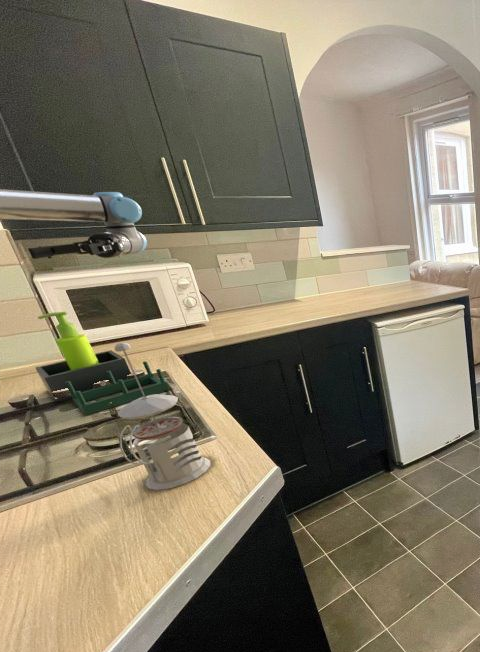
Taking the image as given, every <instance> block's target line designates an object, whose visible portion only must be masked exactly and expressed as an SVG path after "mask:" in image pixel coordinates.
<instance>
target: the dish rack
mask: <svg viewBox="0 0 480 652" xmlns="http://www.w3.org/2000/svg"><path fill="white" fill-rule="evenodd" d="M142 364H143V366H144V369H145V371H146V373H147V374H142V375H138V376H139V377H138V376H136V377H137V379H138V381H139V383H140V386H141V388H142V390H143V392H144V394H145V396H149V395H155V394H161V393H165V392H167V391H170V390H171V389H170V386H169V383H168V381H166V379H165V377H164V374H163V372H162V370H161V368H157V369H155V371H156V373H157V376H158V377H157V376H155V373H153V372H152V370H151V367H150V365H149V363H148V361H142ZM106 373H107V375H108V377H109V379H110V382H111V384H109V385H105V386H102V387H98V388H94V389H91V390H87V391H83V392H80V391H76V392H75V390H74V388H73V386H72V384H71V382H70V381H67V382H65V383H66V385H67V387H68V389H69V391H70V393H71V397H72V399H71V400H72V401H73V402H74V404H75V405H76V406H77V407H78V409H80V411H82V413H83V414H84V415H85V416H89V415H93V414H96V413H99V412H102V411H106V410H108V409H109V410H110V409H112V408H116V407H118V406H122V405H125V404H129V403H130V402H132V401H134V400H136V399H139V398H141V397H144V396H143V394H142V392H141V389H140V387H139V385H138V383H137V381H136V378H135V377H133V378H131V379H127V380H124V381H123V380H122V379H120V380H118V382H115V380H114V378H113V375H112V373H111V371H106ZM148 384H150V385H148ZM144 385H147V386H144ZM142 386H143V387H142ZM138 387H139V388H138ZM134 388H136V389H134ZM131 389H133V390H131ZM120 392H122V393H120ZM117 393H119V394H117ZM113 394H116V395H113ZM111 395H112V396H111ZM107 396H108V397H107ZM103 397H105V398H103ZM100 398H102V399H100ZM96 399H97V400H96ZM93 400H95V401H93ZM90 401H92V402H90ZM87 402H89V403H87ZM109 402H112V404H109ZM108 404H109V405H108Z"/></svg>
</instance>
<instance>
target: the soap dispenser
mask: <svg viewBox="0 0 480 652" xmlns="http://www.w3.org/2000/svg"><path fill="white" fill-rule="evenodd" d="M66 315H68V312H67V311H56V312H55V311H54V312H48V313H45V314H42V315H39V316H38V317H37V320H42V319H43V320H44V319H45V318H50V317H55V319H56V321H57V323H58V324H57V325H55V329H56V331H57V332H58V334H59V336H60V337H59V338H57V339H56V340H55V342H56V344H57V347H58V348H59V350H60V352H61V354H62V356H63V359H64V361H66V362H67V364H68V366H69V368H70V369H71V370H75V369H79V368H83V367H88V366H92V365H96V364H99V362H98V360H97V358H96V356H95V354H96V353H95V351H94V349H93V347H92V345H91V343H90V341H89V338H88V337H87V335H86V334H84V333H83V334H81V333H80V334H79V332H78V330H77V328H76V326H75V324H74V323H72V322H69V321H68V319H67V318H66Z"/></svg>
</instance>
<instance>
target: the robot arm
mask: <svg viewBox="0 0 480 652" xmlns="http://www.w3.org/2000/svg"><path fill="white" fill-rule="evenodd" d="M142 214H143V211H142V208H141V206H140V205H139V203H137V202H136V201H135V200H134V199H132V198H130V197H127V196H124V195H123V194H122V193H121V192H119V191H99V192H98V191H97V192H94V193H93V194H78V193H76V194H75V193H64V192H63V193H62V192H49V191H47V192H46V191H32V190H19V189H18V190H16V189H3V188H0V220H24V221H26V220H27V221H28V220H29V221H57V222H58V221H60V222H95V223H103V224H104V225H105V229H106V231H104V232H96V233H91V234H90V235H89V236H88V238H87V240H86V239H85V240H83V241H75V242H72V243H66V244H65V243H64V244H56V245H55V244H54V245H45V246H41V245H40V246H39V245H38V246H37V247H29V248H27V250H28V252H29V254H30V256H31V258H32V260H35V259H41V258H47V259H53V257H54V256H58V255H69V254H78V255H86V254H88V255H90V256H95V255H96V256H97V257H99V258H102V259H110V258H115V257H117V258H119V259H120V258H123V257H122V256H126V255H132V254H137V253H140V252H143V251H144V250H145V249H147V246H148V241H147V238H146V237H145V235H144V234H143V233H141V232H140V231H138V230H137V227H136V226H135V223H136V222H138V221H140V219H141V218H142Z"/></svg>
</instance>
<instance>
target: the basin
mask: <svg viewBox="0 0 480 652" xmlns="http://www.w3.org/2000/svg"><path fill="white" fill-rule="evenodd" d="M95 356H96V358H97V360H98V362H99V364H96V365H92V366H88V367H83V368H79V369H75V370H71V369H70V368H69V366H68V364H67V362H66V360H61V361H58V362H53V363H49V364H44V365H39V366H35V367H34V368H35V371H36V372H37V374H38V376H39V377H40V379H41V381H42V383H43V385H44V387H45V388H46V390H47V392H48V393H49V394H50V395H51V397H52V398H53V399H54V400H55V401H56V402H57V403H61V402H66V401H69V400H73V399H72V397H71V396H69V397H66V398H58V399H55V398H54V396H53V395H52V392H53V391H57V390H61V389H65V388H68V387H67V385H66V383H65V382H67V381H70V382H71V384H72V386H73V388H74V390H75V392H76V391H80V392H83V391H87V390H91V389H93V384H94V383H97V382H99V381H103V380H109V382H110V379H109V377H108V375H107V373H106V371H111V373H112V375H113V378H114V380H115V382H118V380H120V379H122V380H123V381H124V380H127V375H129V374H132V372H131V370H130V369H131V368H130V366H129V364H128V362H127V360H126V359H125V358H126V357H125V358H124V357H123V356H122V355H120V354H118V353H117V352H116V351H113V350H112V349H110V350H107V351H106V350H104V351H101V352H97V353H95ZM110 383H111V382H110Z"/></svg>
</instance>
